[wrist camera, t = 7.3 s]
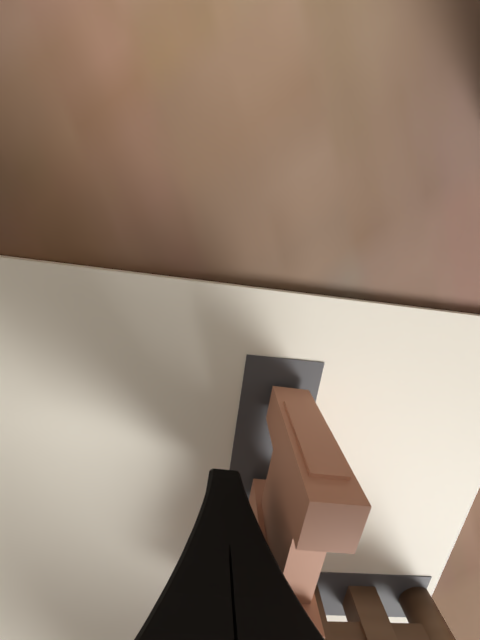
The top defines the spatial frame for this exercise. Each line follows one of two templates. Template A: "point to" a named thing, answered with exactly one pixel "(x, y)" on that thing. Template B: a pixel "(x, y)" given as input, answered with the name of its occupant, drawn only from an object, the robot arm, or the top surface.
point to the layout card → (211, 432)
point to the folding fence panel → (306, 495)
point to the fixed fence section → (385, 617)
